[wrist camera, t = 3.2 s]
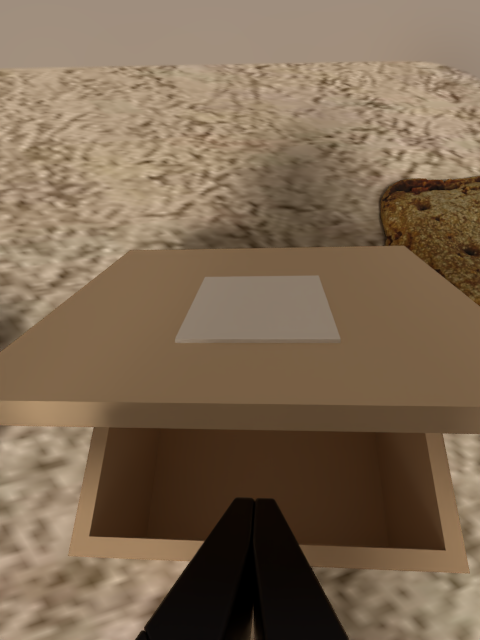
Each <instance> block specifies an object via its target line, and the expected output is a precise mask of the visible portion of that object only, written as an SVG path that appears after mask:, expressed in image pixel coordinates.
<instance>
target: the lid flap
mask: <svg viewBox="0 0 480 640" xmlns="http://www.w3.org/2000/svg"><path fill="white" fill-rule="evenodd" d="M0 425H5V426H61V427H117V428H174V429H230V430H286V431H343V432H399V433H455V434H480V306H479V305H477V304H476V303H475V302H474V301H472V300H471V299H470V298H469V297H467V296H466V295H465V294H464V293H462V292H461V291H460V290H459V289H457V288H456V287H455V286H454V285H452V284H451V283H450V282H449V281H447V280H446V279H445V278H444V277H442V276H441V275H440V274H439V273H437V272H436V271H435V270H434V269H432V268H431V267H430V266H429V265H427V264H426V263H425V262H424V261H422V260H421V259H420V258H419V257H418V256H416V255H415V254H414V253H413V252H411V251H410V250H409V249H408V248H406V247H405V246H356V247H297V248H238V249H180V250H130V251H129V252H127V253H126V254H125V255H124V256H122V257H121V258H120V259H119V260H117V261H116V262H115V263H113V264H112V265H111V266H110V267H108V268H107V269H106V270H105V271H103V272H102V273H101V274H99V275H98V276H97V277H96V278H94V279H93V280H92V281H90V282H89V283H88V284H87V285H85V286H84V287H83V288H82V289H80V290H79V291H78V292H76V293H75V294H74V295H73V296H71V297H70V298H69V299H67V300H66V301H65V302H64V303H62V304H61V305H60V306H59V307H57V308H56V309H55V310H53V311H52V312H51V313H50V314H48V315H47V316H46V317H45V318H43V319H42V320H41V321H39V322H38V323H37V324H36V325H34V326H33V327H32V328H30V329H29V330H28V331H27V332H25V333H24V334H23V335H22V336H20V337H19V338H18V339H16V340H15V341H14V342H13V343H11V344H10V345H9V346H7V347H6V348H5V349H4V350H2V351H1V352H0Z"/></svg>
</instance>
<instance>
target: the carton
mask: <svg viewBox="0 0 480 640" xmlns="http://www.w3.org/2000/svg"><path fill="white" fill-rule="evenodd" d="M236 497H250V498H253V499H254V500H256V499H257V498H273V499H275V501H276V502H277V504H278V506H279V508H280V510H281V512H282V514H283V515H284V517H285V519H286V521H287V523H288V525H289V527H290V529H291V531H292V532H293V534H294V536H295V538H296V540H297V542H298V544H299V546H300V548H301V549H302V551H303V553H304V555H305V557H306V559H307V561H308V563H309V564H310V566H311V567H334V568H357V569H380V570H403V571H426V572H449V573H470V572H469V567H468V561H467V556H466V551H465V546H464V541H463V536H462V531H461V526H460V521H459V515H458V510H457V505H456V500H455V495H454V490H453V485H452V480H451V475H450V469H449V464H448V459H447V454H446V449H445V444H444V439H443V434H442V433H399V432H343V431H286V430H230V429H174V428H117V427H94V429H93V434H92V439H91V444H90V449H89V454H88V459H87V464H86V469H85V474H84V479H83V484H82V489H81V494H80V499H79V504H78V509H77V514H76V519H75V524H74V529H73V534H72V539H71V544H70V549H69V554H68V556H80V557H103V558H126V559H149V560H172V561H191V560H192V558H193V557H194V555H195V554H196V553H197V551H198V550H199V548H200V547H201V545H202V544H203V543H204V541H205V540H206V538H207V537H208V536H209V534H210V533H211V531H212V530H213V528H214V527H215V526H216V524H217V523H218V521H219V520H220V518H221V517H222V516H223V514H224V513H225V511H226V510H227V508H228V507H229V506H230V504H231V503H232V501H233V500H234V499H235V498H236Z"/></svg>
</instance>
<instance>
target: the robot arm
mask: <svg viewBox="0 0 480 640" xmlns="http://www.w3.org/2000/svg"><path fill="white" fill-rule="evenodd" d="M253 613H254V634H255V640H349V638H348V636H347V634H346V632H345V630H344V629H343V627H342V625H341V623H340V621H339V619H338V617H337V615H336V613H335V612H334V610H333V608H332V606H331V604H330V602H329V600H328V598H327V597H326V595H325V593H324V591H323V589H322V587H321V585H320V583H319V581H318V580H317V578H316V576H315V574H314V572H313V570H312V568H311V566H310V564H309V563H308V561H307V559H306V557H305V555H304V553H303V551H302V549H301V548H300V546H299V544H298V542H297V540H296V538H295V536H294V534H293V532H292V531H291V529H290V527H289V525H288V523H287V521H286V519H285V517H284V515H283V514H282V512H281V510H280V508H279V506H278V504H277V502H276V501H275V499H273V498H257V499H256V500H254V499H253V498H250V497H236V498H235V499H234V500H233V501H232V503H231V504H230V506H229V507H228V508H227V510H226V511H225V513H224V514H223V516H222V517H221V518H220V520H219V521H218V523H217V524H216V526H215V527H214V528H213V530H212V531H211V533H210V534H209V536H208V537H207V538H206V540H205V541H204V543H203V544H202V545H201V547H200V548H199V550H198V551H197V553H196V554H195V555H194V557H193V558H192V560H191V561H190V563H189V564H188V565H187V567H186V568H185V570H184V571H183V573H182V574H181V575H180V577H179V578H178V580H177V581H176V583H175V584H174V585H173V587H172V588H171V590H170V591H169V593H168V594H167V595H166V597H165V598H164V600H163V601H162V602H161V604H160V605H159V607H158V608H157V610H156V611H155V612H154V614H153V615H152V617H151V618H150V620H149V621H148V622H147V624H146V625H145V627H144V630H142V631H141V632H140V633H139V635H138V636H137V638H136V639H135V640H250V636H251V628H252V619H253Z"/></svg>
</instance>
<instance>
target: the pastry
mask: <svg viewBox="0 0 480 640" xmlns="http://www.w3.org/2000/svg"><path fill="white" fill-rule="evenodd" d="M381 219H382V223H383V227H384V230H385V231H384V232H385V235H386V236H387V240H386V243H385V246H405V247H406V248H408V249H409V250H410V251H411V252H413V253H414V254H415V255H416V256H418V257H419V258H420V259H421V260H422V261H424V262H425V263H426V264H427V265H429V266H430V267H431V268H432V269H434V270H435V271H436V272H437V273H439V274H440V275H441V276H442V277H444V278H445V279H446V280H447V281H449V282H450V283H451V284H452V285H454V286H455V287H456V288H457V289H459V290H460V291H461V292H462V293H464V294H465V295H466V296H467V297H469V298H470V299H471V300H472V301H474V302H475V303H476V304H477V305H479V306H480V176H477V177H470V178H465V179H454V180H452V179H449V180H446V181H445V182H443V181H442V180H427V179H411V178H410V179H405V180H401V181H399V182H397V183H395V184H393V185H392V186H389V188H388V189H387V191H386V192H385V193H384V195H383V197H382V200H381Z"/></svg>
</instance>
